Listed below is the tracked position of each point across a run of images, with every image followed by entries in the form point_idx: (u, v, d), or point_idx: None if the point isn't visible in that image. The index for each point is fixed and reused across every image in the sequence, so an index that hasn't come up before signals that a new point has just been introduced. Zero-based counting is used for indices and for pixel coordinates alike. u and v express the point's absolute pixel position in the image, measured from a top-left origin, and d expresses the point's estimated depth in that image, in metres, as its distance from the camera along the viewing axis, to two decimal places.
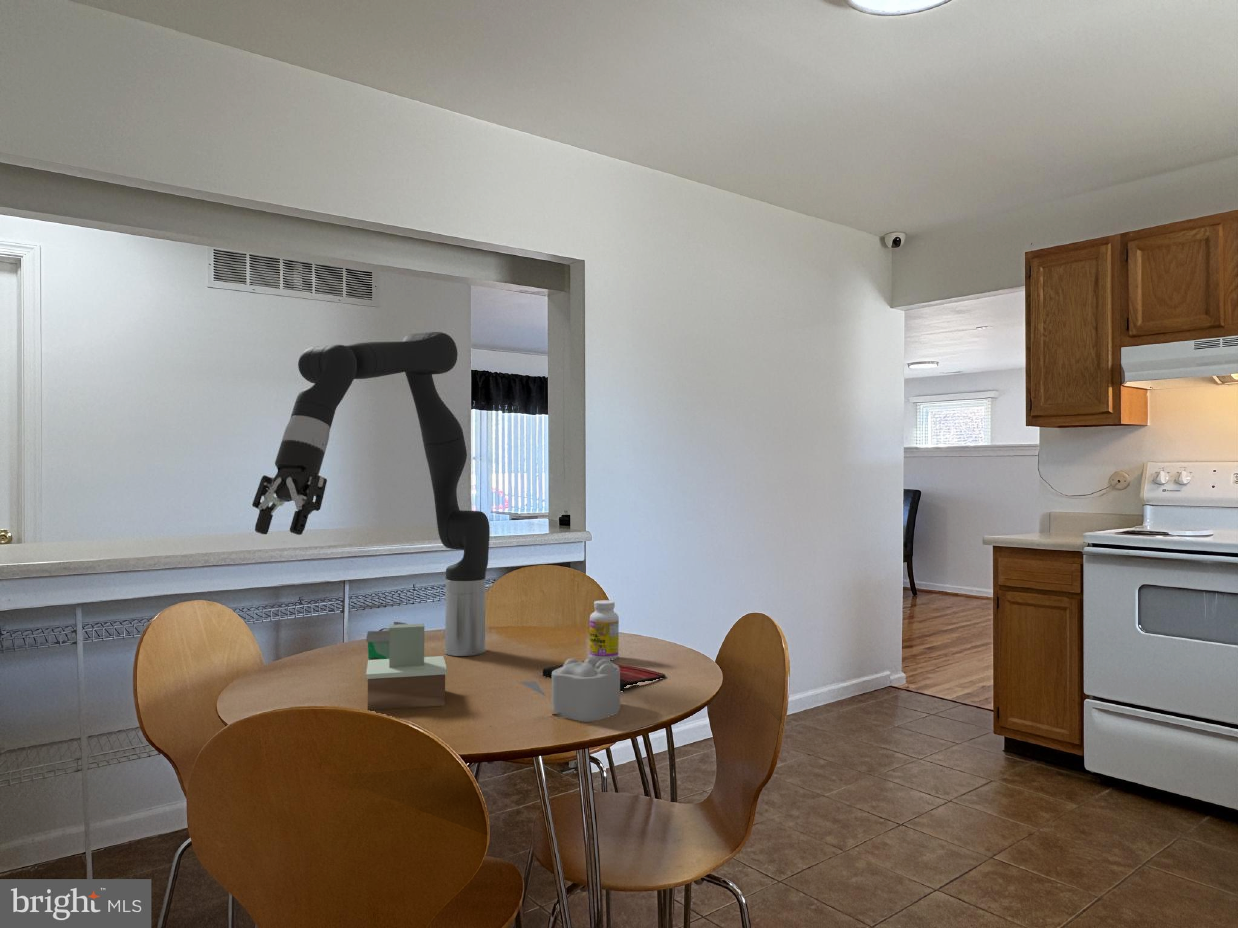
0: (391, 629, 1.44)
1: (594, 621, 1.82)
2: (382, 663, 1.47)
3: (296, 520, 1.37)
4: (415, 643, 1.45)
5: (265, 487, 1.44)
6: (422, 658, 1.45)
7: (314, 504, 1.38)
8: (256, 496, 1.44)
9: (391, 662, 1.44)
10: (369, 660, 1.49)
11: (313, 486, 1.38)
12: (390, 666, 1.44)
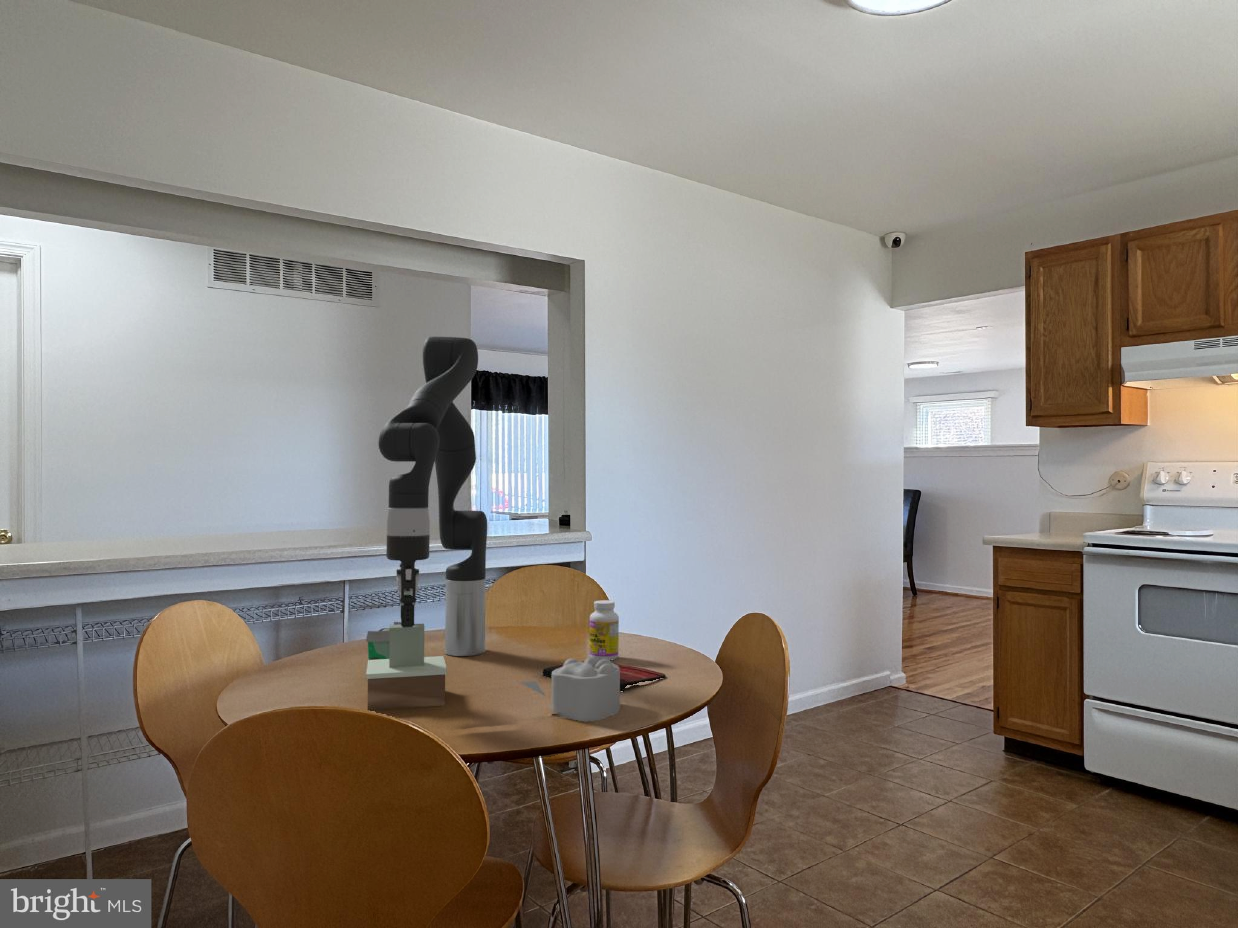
0: (391, 629, 1.44)
1: (594, 621, 1.82)
2: (382, 663, 1.47)
3: (402, 615, 1.41)
4: (415, 643, 1.45)
5: None
6: (422, 658, 1.45)
7: (406, 599, 1.39)
8: None
9: (391, 662, 1.44)
10: (369, 660, 1.49)
11: (401, 582, 1.40)
12: (390, 666, 1.44)
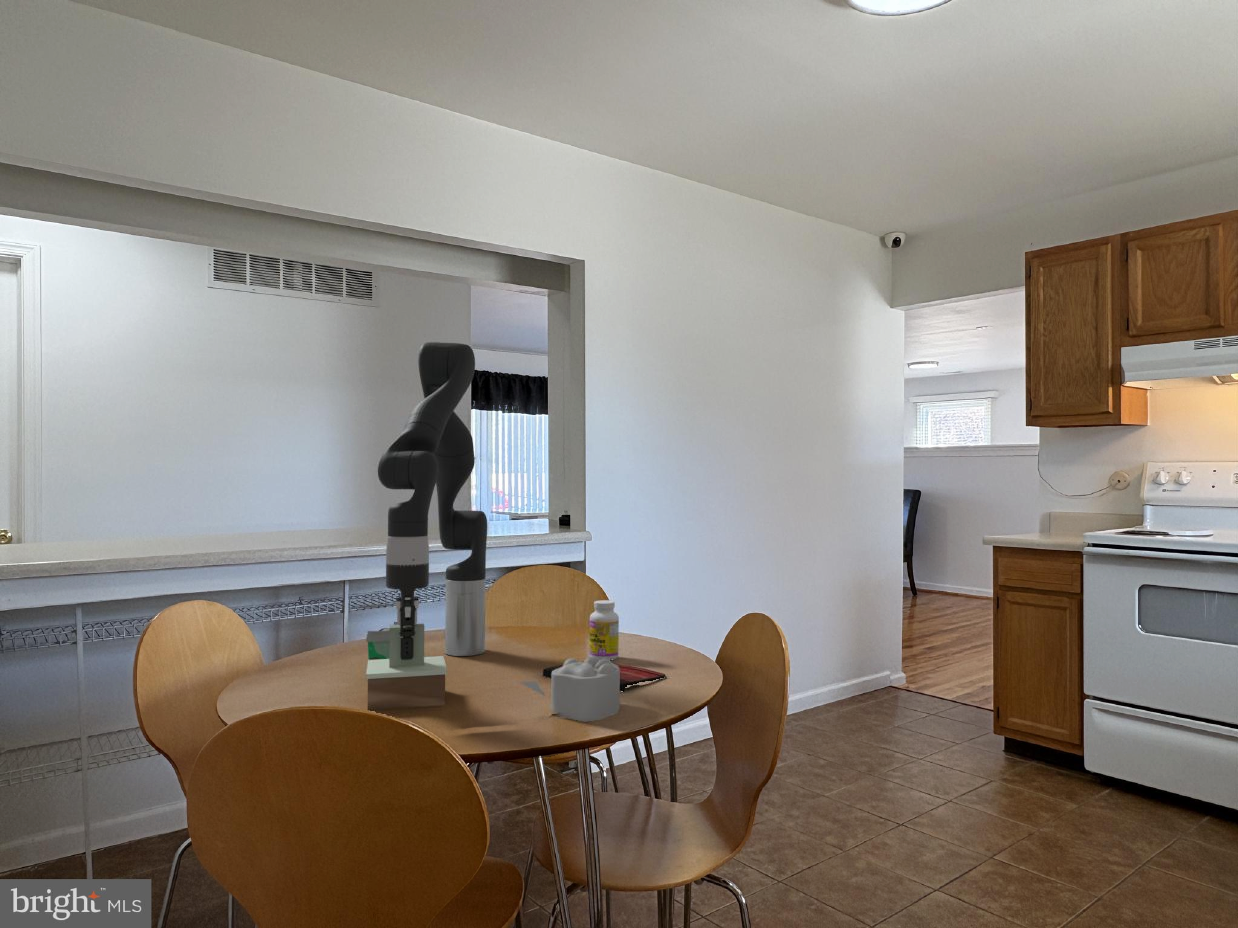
0: (391, 629, 1.44)
1: (594, 621, 1.82)
2: (382, 663, 1.47)
3: (402, 648, 1.44)
4: (415, 643, 1.45)
5: None
6: (422, 658, 1.45)
7: (406, 633, 1.42)
8: None
9: (391, 662, 1.44)
10: (369, 660, 1.49)
11: (400, 619, 1.40)
12: (390, 666, 1.44)
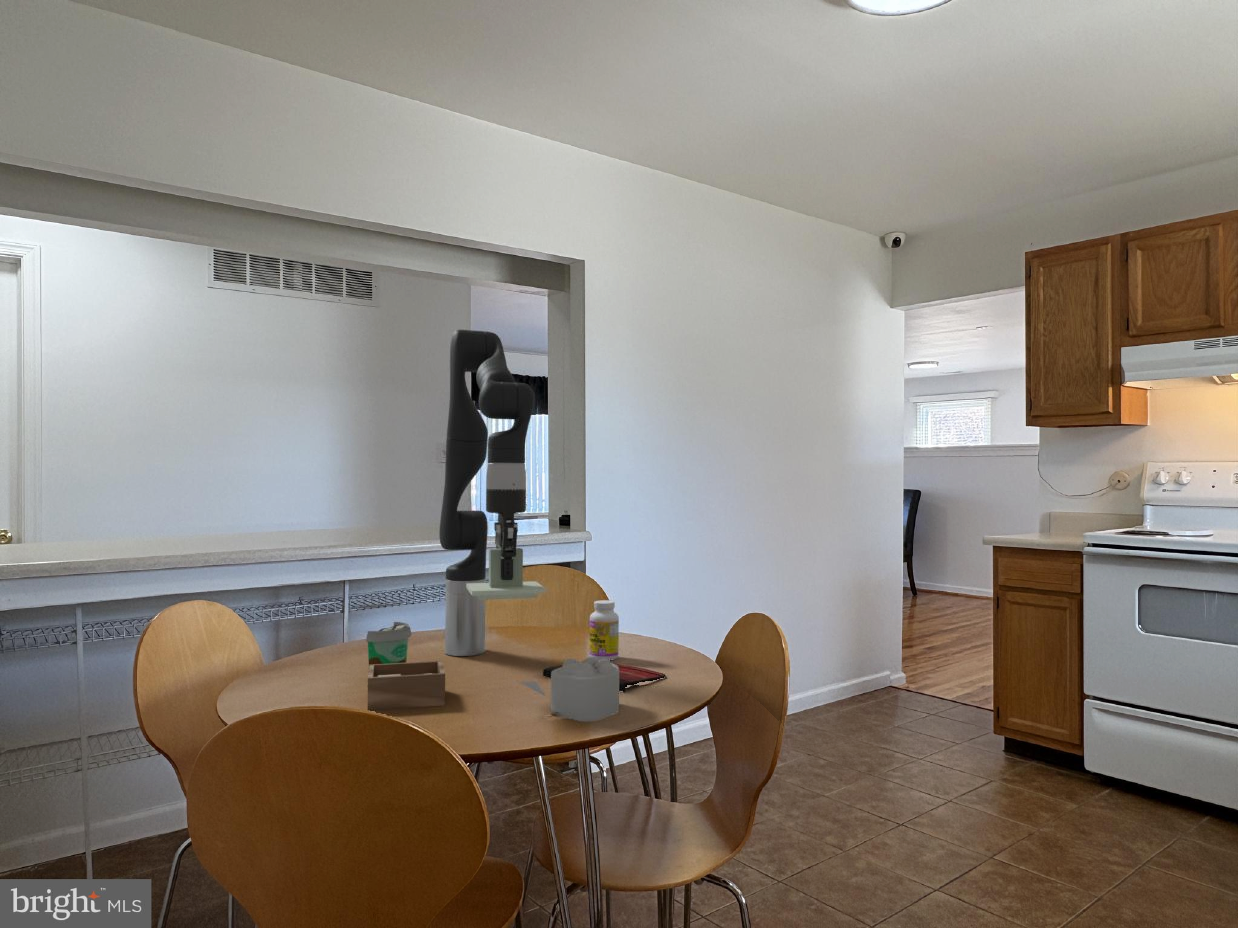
0: (492, 551, 1.51)
1: (594, 621, 1.82)
2: (481, 585, 1.54)
3: (502, 569, 1.51)
4: (514, 565, 1.52)
5: None
6: (521, 579, 1.52)
7: (507, 553, 1.49)
8: None
9: (492, 582, 1.51)
10: (468, 583, 1.56)
11: (503, 540, 1.48)
12: (491, 586, 1.51)
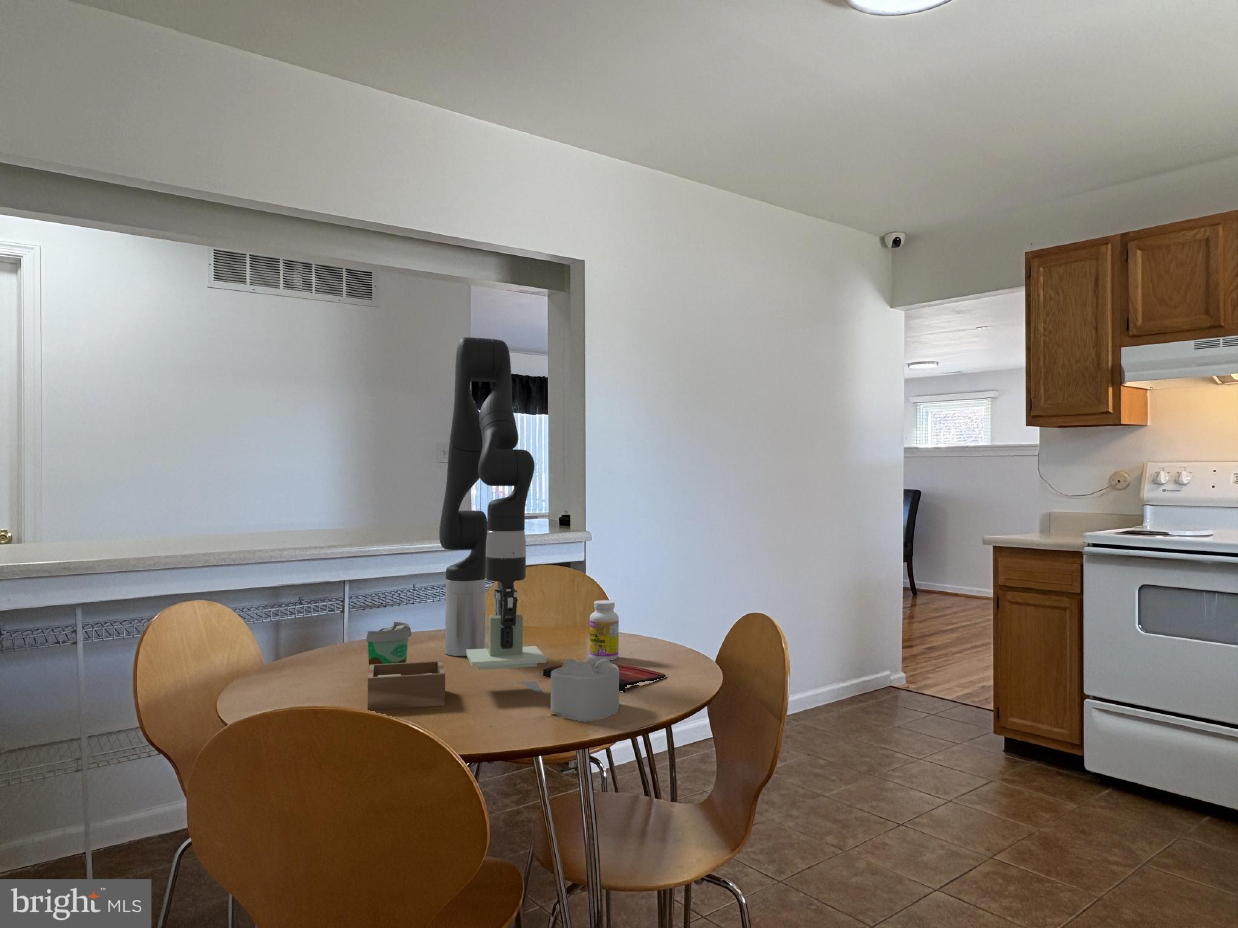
0: (492, 619, 1.51)
1: (594, 621, 1.82)
2: (481, 652, 1.54)
3: (502, 637, 1.50)
4: (514, 632, 1.52)
5: None
6: (521, 647, 1.52)
7: (507, 623, 1.48)
8: None
9: (492, 651, 1.50)
10: (467, 649, 1.56)
11: (503, 610, 1.47)
12: (491, 655, 1.50)
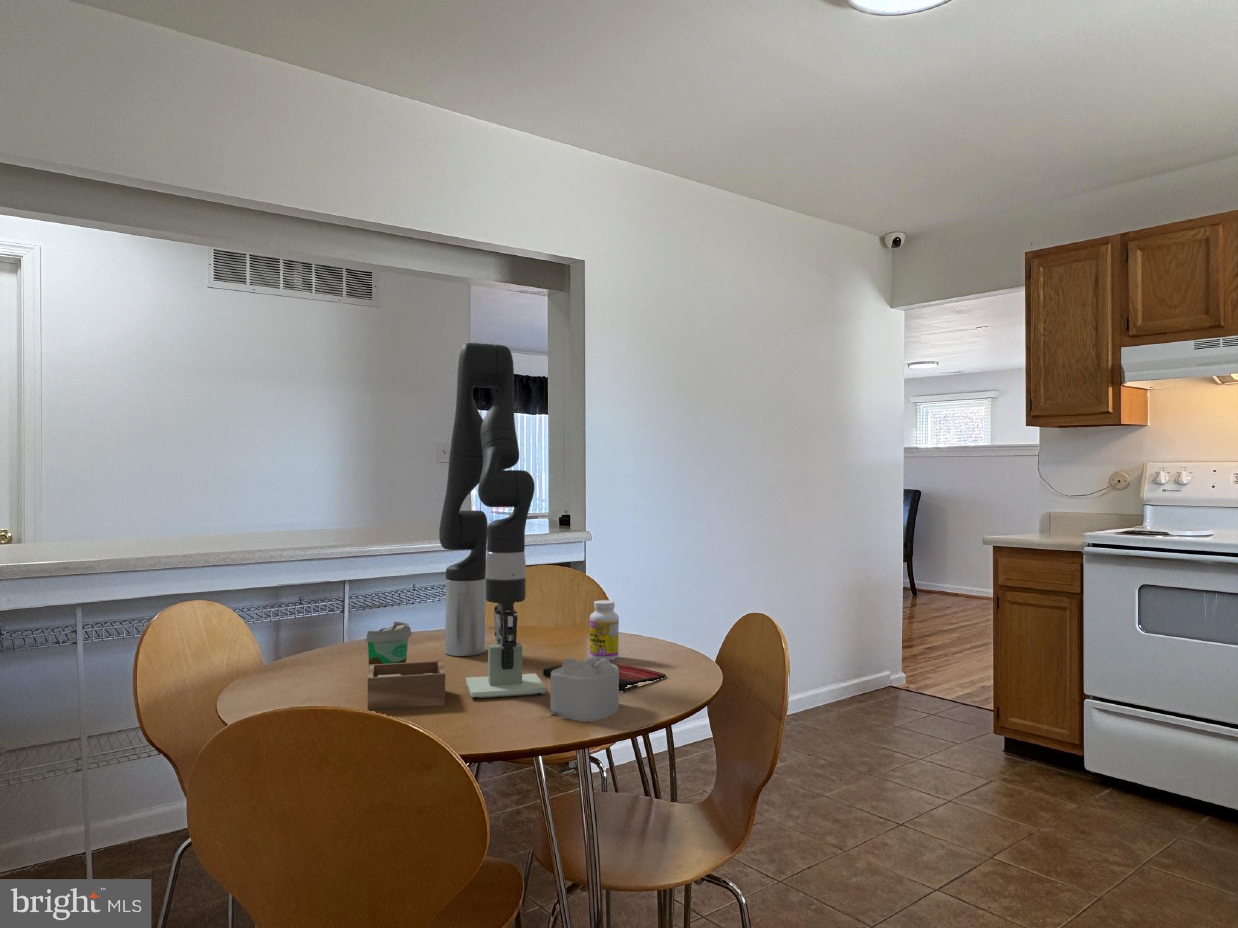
0: (491, 649, 1.51)
1: (594, 621, 1.82)
2: (481, 681, 1.54)
3: (503, 658, 1.49)
4: (514, 662, 1.52)
5: None
6: (520, 676, 1.52)
7: (508, 644, 1.47)
8: None
9: (492, 680, 1.50)
10: (467, 678, 1.56)
11: (503, 629, 1.47)
12: (491, 684, 1.50)
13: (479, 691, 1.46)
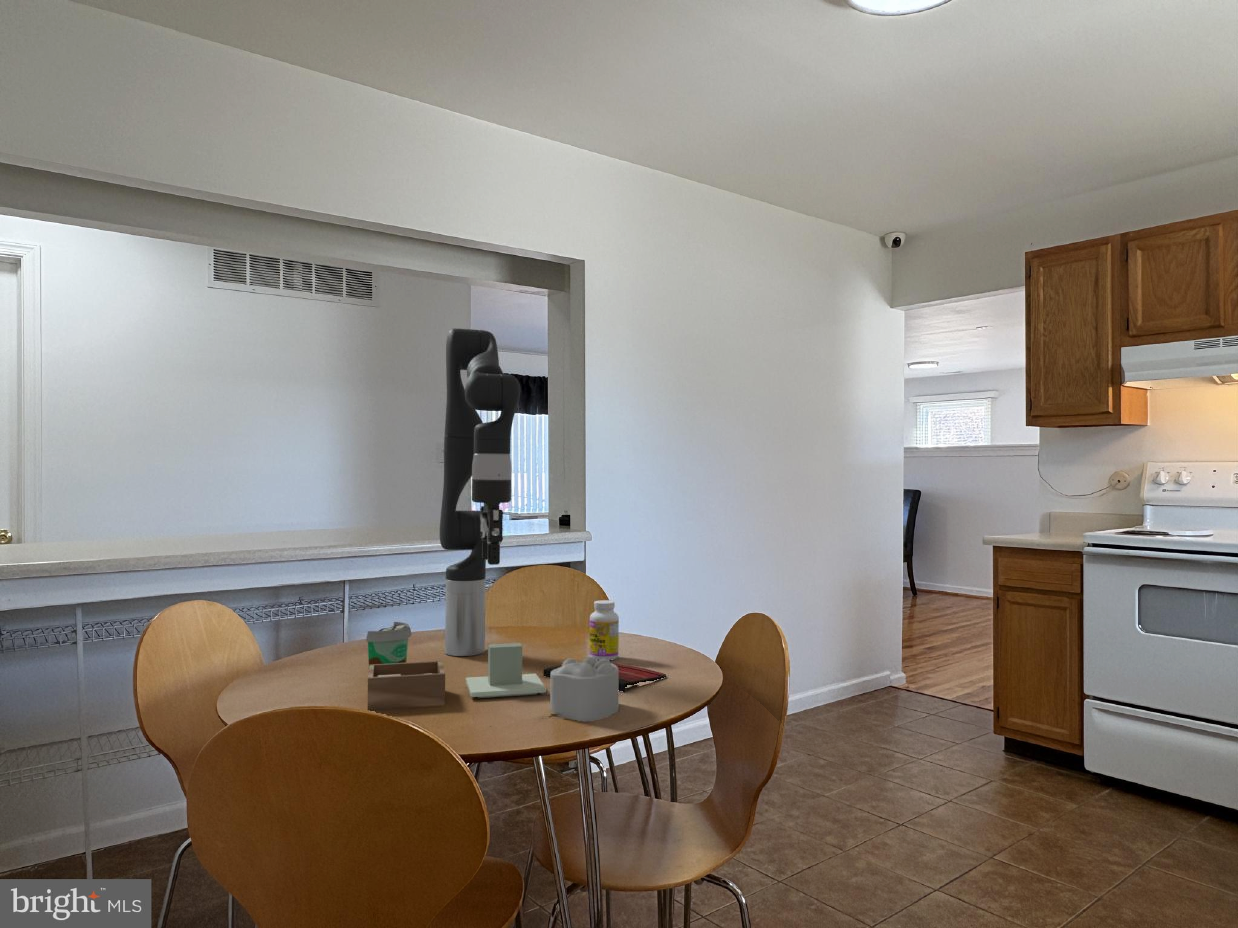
0: (491, 649, 1.51)
1: (594, 621, 1.82)
2: (481, 681, 1.54)
3: (489, 553, 1.51)
4: (514, 662, 1.52)
5: None
6: (520, 676, 1.52)
7: (494, 538, 1.49)
8: None
9: (492, 680, 1.50)
10: (467, 678, 1.56)
11: (489, 522, 1.49)
12: (491, 684, 1.50)
13: (479, 691, 1.46)
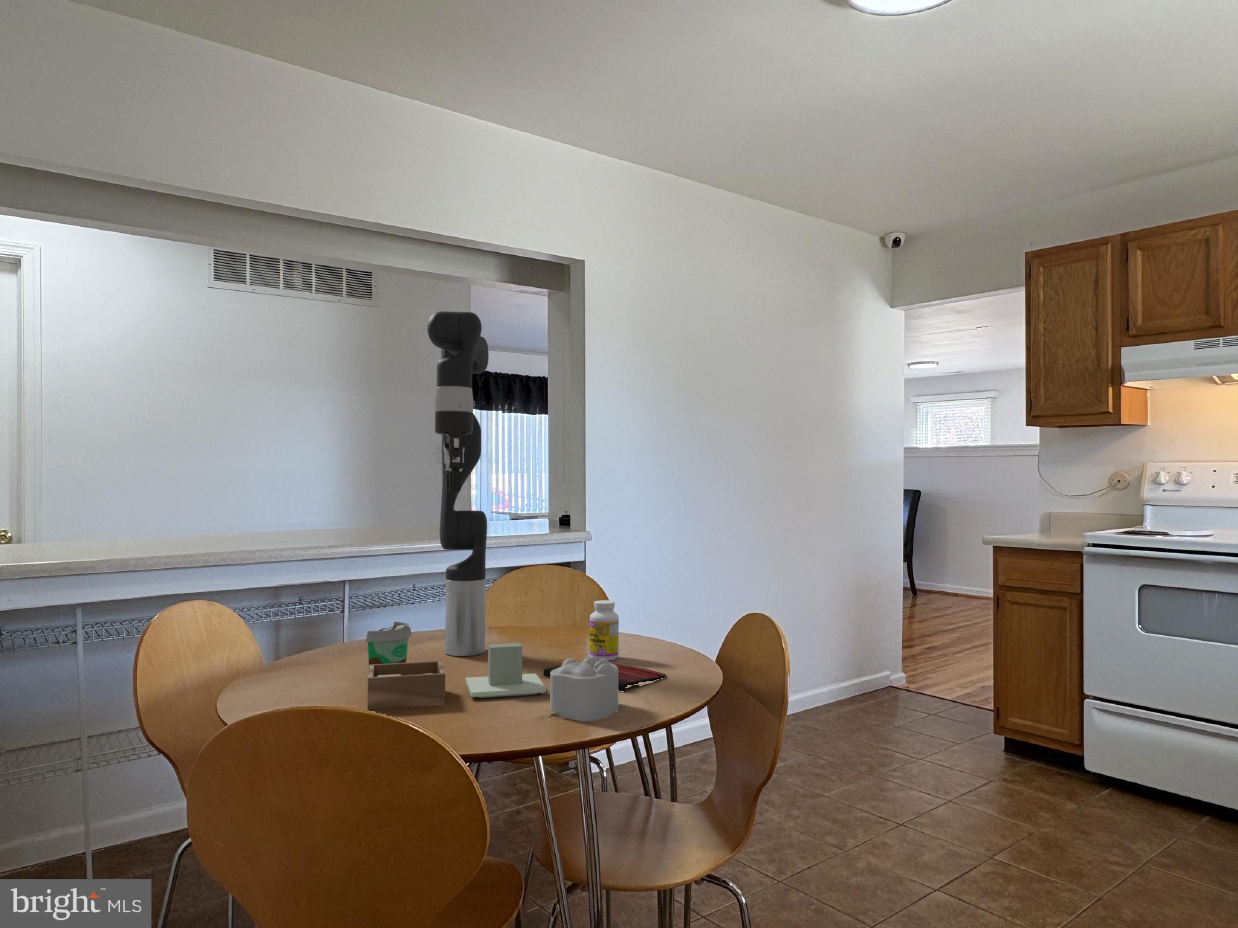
0: (491, 649, 1.51)
1: (594, 621, 1.82)
2: (481, 681, 1.54)
3: (450, 480, 1.58)
4: (514, 662, 1.52)
5: None
6: (520, 676, 1.52)
7: (455, 464, 1.56)
8: None
9: (492, 680, 1.50)
10: (467, 678, 1.56)
11: (450, 449, 1.56)
12: (491, 684, 1.50)
13: (479, 691, 1.46)
